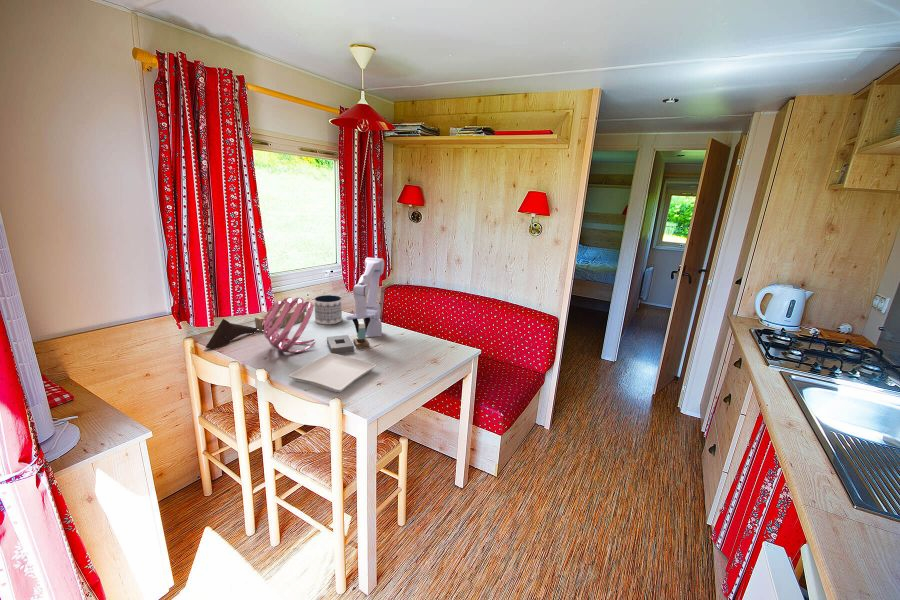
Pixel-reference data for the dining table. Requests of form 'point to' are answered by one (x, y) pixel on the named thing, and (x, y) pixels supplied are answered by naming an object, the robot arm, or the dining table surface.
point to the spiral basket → (275, 328)
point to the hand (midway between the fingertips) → (361, 331)
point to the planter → (328, 309)
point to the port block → (340, 344)
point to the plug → (361, 330)
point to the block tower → (260, 319)
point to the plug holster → (361, 343)
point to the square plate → (333, 372)
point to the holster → (227, 334)
